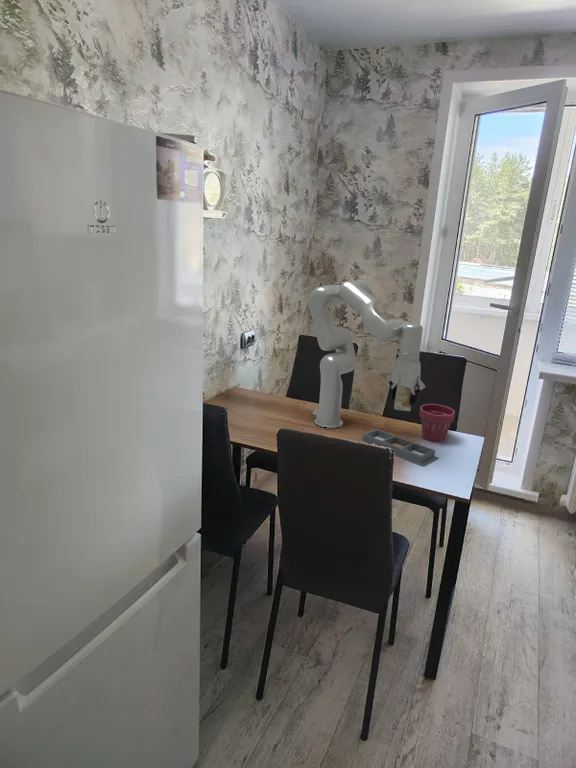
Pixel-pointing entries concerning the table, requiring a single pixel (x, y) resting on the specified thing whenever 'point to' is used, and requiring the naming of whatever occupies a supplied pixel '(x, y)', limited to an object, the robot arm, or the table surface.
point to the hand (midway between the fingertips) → (403, 400)
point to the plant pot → (435, 421)
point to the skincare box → (402, 398)
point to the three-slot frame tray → (401, 447)
